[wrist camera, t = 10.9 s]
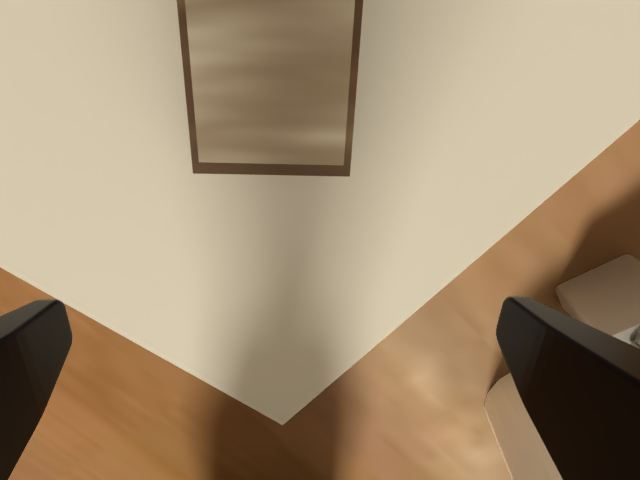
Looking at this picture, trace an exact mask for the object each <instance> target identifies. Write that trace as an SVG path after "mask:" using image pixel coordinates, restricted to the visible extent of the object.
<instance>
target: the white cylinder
mask: <svg viewBox="0 0 640 480" xmlns="http://www.w3.org/2000/svg"><path fill="white" fill-rule="evenodd" d="M484 407H485V411H486V415H487V418H488V420H489V423H490V426H491V428H492V431H493V433H494V436H495V438H496V441H497V443H498V446H499V448H500V451H501V454H502V456H503V459H504V461H505V464H506V466H507V469H508V471H509V474H510V476H511V479H512V480H563V479H562V477H561V475H560V473H559V472H558V470H557V468H556V466H555V464H554V462H553V460H552V458H551V456H550V454H549V453H548V451H547V449H546V447H545V445H544V443H543V441H542V439H541V437H540V435H539V433H538V432H537V430H536V428H535V426H534V424H533V422H532V420H531V418H530V416H529V414H528V412H527V410H526V408H525V406H524V404H523V402H522V400H521V398H520V395H519V393H518V391H517V388H516V386H515V383H514V381H513V378H512V376H511V373H508V374H507V375H505V376H504V377H502V378H501V379H499V380H498V381H497V382H496V383H495V384H494V386H493V387H492V388H491V389H490V390H489V392H488V393H487V397H486V400H485V403H484Z"/></svg>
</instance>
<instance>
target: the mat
mask: <svg viewBox="0 0 640 480" xmlns="http://www.w3.org/2000/svg"><path fill="white" fill-rule="evenodd" d="M639 120H640V0H363V11H362V24H361V37H360V50H359V63H358V77H357V90H356V103H355V116H354V129H353V142H352V155H351V168H350V177H344V176H294V175H244V174H194V173H193V169H192V158H191V148H190V137H189V126H188V116H187V105H186V95H185V84H184V73H183V63H182V52H181V42H180V31H179V20H178V10H177V0H0V267H1V268H3V269H4V270H6V271H8V272H10V273H11V274H13V275H15V276H17V277H19V278H20V279H22V280H24V281H26V282H28V283H29V284H31V285H33V286H35V287H36V288H38V289H40V290H42V291H44V292H45V293H47V294H49V295H51V296H53V297H54V298H56V299H58V300H60V301H62V302H63V303H65V304H67V305H69V306H70V307H72V308H74V309H76V310H78V311H79V312H81V313H83V314H85V315H86V316H88V317H90V318H92V319H94V320H95V321H97V322H99V323H101V324H103V325H104V326H106V327H108V328H110V329H111V330H113V331H115V332H117V333H119V334H120V335H122V336H124V337H126V338H128V339H129V340H131V341H133V342H135V343H136V344H138V345H140V346H142V347H144V348H145V349H147V350H149V351H151V352H153V353H154V354H156V355H158V356H160V357H161V358H163V359H165V360H167V361H169V362H170V363H172V364H174V365H176V366H178V367H179V368H181V369H183V370H185V371H186V372H188V373H190V374H192V375H194V376H195V377H197V378H199V379H201V380H203V381H204V382H206V383H208V384H210V385H211V386H213V387H215V388H217V389H219V390H220V391H222V392H224V393H226V394H228V395H229V396H231V397H233V398H235V399H236V400H238V401H240V402H242V403H244V404H245V405H247V406H249V407H251V408H253V409H254V410H256V411H258V412H260V413H261V414H263V415H265V416H267V417H269V418H270V419H272V420H274V421H276V422H278V423H279V424H281V425H284V424H285V423H286V422H287V421H288V420H289V419H291V418H292V417H293V416H294V415H295V414H296V413H298V412H299V411H300V410H301V409H302V408H303V407H305V406H306V405H307V404H308V403H309V402H310V401H312V400H313V399H314V398H315V397H316V396H317V395H319V394H320V393H321V392H322V391H323V390H324V389H326V388H327V387H328V386H329V385H330V384H331V383H333V382H334V381H335V380H336V379H337V378H338V377H340V376H341V375H342V374H343V373H344V372H345V371H347V370H348V369H349V368H350V367H351V366H352V365H354V364H355V363H356V362H357V361H358V360H359V359H361V358H362V357H363V356H364V355H365V354H366V353H368V352H369V351H370V350H371V349H372V348H373V347H375V346H376V345H377V344H378V343H379V342H380V341H382V340H383V339H384V338H385V337H386V336H387V335H389V334H390V333H391V332H392V331H393V330H394V329H396V328H397V327H398V326H399V325H400V324H402V323H403V322H404V321H405V320H406V319H407V318H409V317H410V316H411V315H412V314H413V313H414V312H416V311H417V310H418V309H419V308H420V307H421V306H423V305H424V304H425V303H426V302H427V301H428V300H430V299H431V298H432V297H433V296H434V295H435V294H437V293H438V292H439V291H440V290H441V289H442V288H444V287H445V286H446V285H447V284H448V283H449V282H451V281H452V280H453V279H454V278H455V277H456V276H458V275H459V274H460V273H461V272H462V271H463V270H465V269H466V268H467V267H468V266H469V265H470V264H472V263H473V262H474V261H475V260H476V259H477V258H479V257H480V256H481V255H482V254H483V253H484V252H486V251H487V250H488V249H489V248H490V247H491V246H493V245H494V244H495V243H496V242H497V241H498V240H500V239H501V238H502V237H503V236H504V235H505V234H507V233H508V232H509V231H510V230H511V229H512V228H514V227H515V226H516V225H517V224H518V223H519V222H521V221H522V220H523V219H524V218H525V217H526V216H528V215H529V214H530V213H531V212H532V211H533V210H535V209H536V208H537V207H538V206H539V205H540V204H542V203H543V202H544V201H545V200H546V199H547V198H549V197H550V196H551V195H552V194H553V193H555V192H556V191H557V190H558V189H559V188H560V187H562V186H563V185H564V184H565V183H566V182H567V181H569V180H570V179H571V178H572V177H573V176H574V175H576V174H577V173H578V172H579V171H580V170H581V169H583V168H584V167H585V166H586V165H587V164H588V163H590V162H591V161H592V160H593V159H594V158H595V157H597V156H598V155H599V154H600V153H601V152H602V151H604V150H605V149H606V148H607V147H608V146H609V145H611V144H612V143H613V142H614V141H615V140H616V139H618V138H619V137H620V136H621V135H622V134H623V133H625V132H626V131H627V130H628V129H629V128H630V127H632V126H633V125H634V124H635V123H636V122H637V121H639Z"/></svg>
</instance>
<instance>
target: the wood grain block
mask: <svg viewBox="0 0 640 480" xmlns="http://www.w3.org/2000/svg"><path fill="white" fill-rule="evenodd" d="M177 10H178V20H179V31H180V42H181V52H182V63H183V73H184V84H185V95H186V105H187V116H188V126H189V137H190V148H191V158H192V169H193V173H194V174H244V175H294V176H344V177H350V168H351V155H352V142H353V129H354V116H355V103H356V90H357V77H358V63H359V50H360V37H361V24H362V11H363V0H177Z"/></svg>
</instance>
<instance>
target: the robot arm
mask: <svg viewBox="0 0 640 480" xmlns="http://www.w3.org/2000/svg"><path fill="white" fill-rule="evenodd" d="M496 336H497V340H498V343H499V345H500V348H501V350H502V353H503V355H504V358H505V360H506V363H507V365H508V368H509V370H510V373H511V376H512V378H513V381H514V383H515V386H516V388H517V391H518V393H519V395H520V398H521V400H522V402H523V404H524V406H525V408H526V410H527V412H528V414H529V416H530V418H531V420H532V422H533V424H534V426H535V428H536V430H537V432H538V433H539V435H540V437H541V439H542V441H543V443H544V445H545V447H546V449H547V451H548V453H549V454H550V456H551V458H552V460H553V462H554V464H555V466H556V468H557V470H558V472H559V473H560V475H561V477H562V479H563V480H640V349H639V348H637V347H635V346H633V345H631V344H628V343H626V342H624V341H622V340H620V339H618V338H615V337H613V336H611V335H609V334H607V333H605V332H602V331H600V330H598V329H596V328H594V327H591V326H589V325H587V324H585V323H583V322H581V321H578V320H576V319H574V318H572V317H570V316H568V315H565V314H563V313H561V312H559V311H557V310H555V309H552V308H550V307H548V306H546V305H544V304H542V303H539V302H537V301H535V300H533V299H531V298H529V297H524V296H515V297H507V298H506V299H505V300H504V302H503V305H502V309H501V313H500V317H499V320H498V324H497V329H496ZM71 344H72V331H71V327H70V324H69V320H68V316H67V312H66V308H65V305H64V304H63V302H62V301H60V300H57V299H43V300H36V301H34V302H31V303H29V304H27V305H25V306H22V307H20V308H18V309H16V310H13V311H11V312H9V313H7V314H4V315H2V316H0V480H8V478H9V476H10V475H11V473H12V471H13V469H14V467H15V465H16V463H17V462H18V460H19V458H20V456H21V454H22V452H23V451H24V449H25V447H26V445H27V443H28V441H29V439H30V438H31V436H32V434H33V432H34V430H35V428H36V426H37V425H38V423H39V421H40V419H41V417H42V415H43V412H44V410H45V408H46V406H47V403H48V401H49V399H50V396H51V394H52V391H53V389H54V386H55V384H56V381H57V379H58V377H59V374H60V372H61V369H62V367H63V364H64V362H65V359H66V357H67V355H68V352H69V350H70V347H71Z"/></svg>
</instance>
